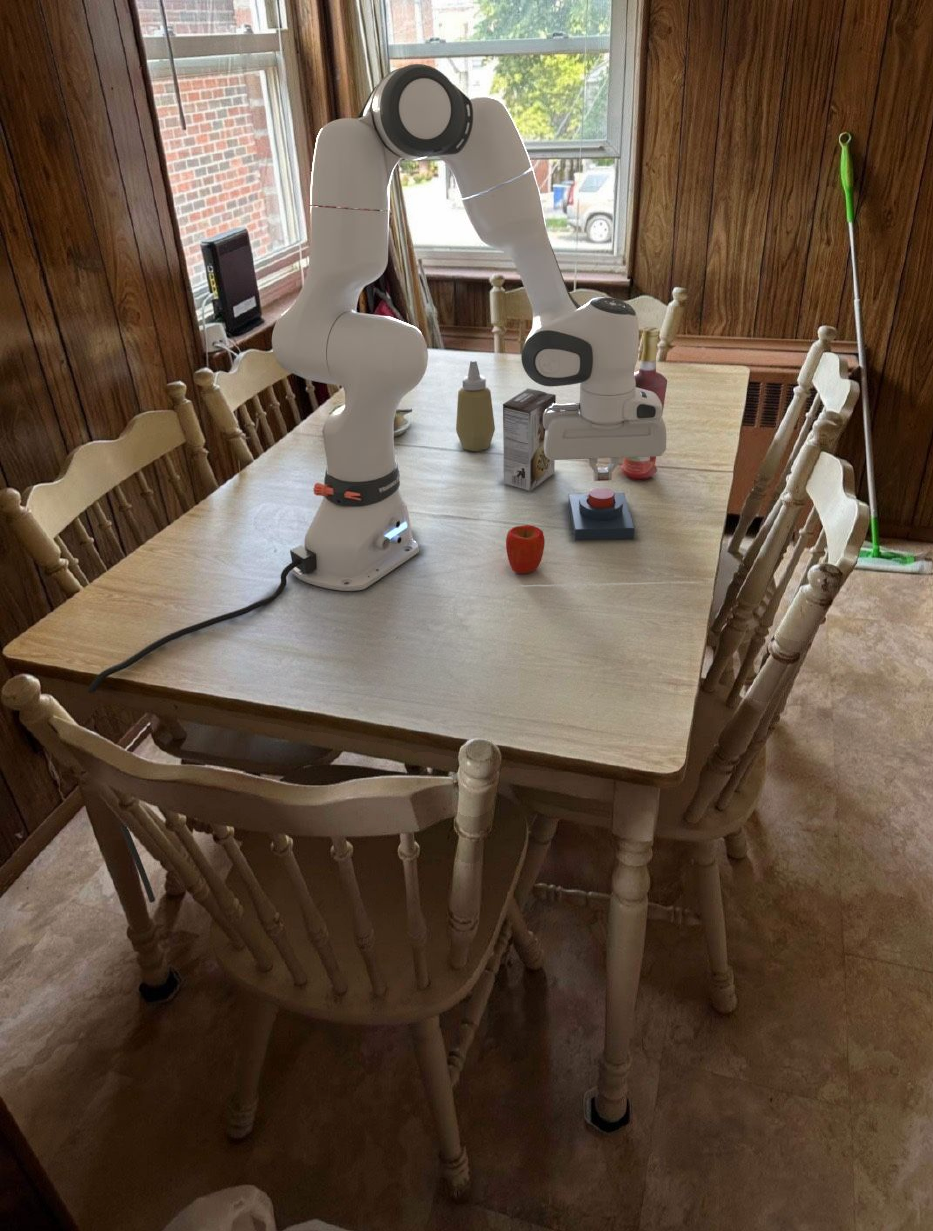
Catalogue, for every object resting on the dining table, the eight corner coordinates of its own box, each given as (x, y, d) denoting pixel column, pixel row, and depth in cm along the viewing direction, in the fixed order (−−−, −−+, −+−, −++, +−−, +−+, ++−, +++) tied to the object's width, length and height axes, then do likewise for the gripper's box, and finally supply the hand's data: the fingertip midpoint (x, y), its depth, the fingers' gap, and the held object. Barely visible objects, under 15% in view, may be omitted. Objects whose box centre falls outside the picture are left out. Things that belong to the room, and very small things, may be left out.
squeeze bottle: (496, 438, 186) (495, 353, 176) (493, 454, 179) (492, 367, 169) (458, 437, 187) (455, 353, 176) (454, 453, 180) (450, 367, 170)
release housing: (633, 539, 150) (635, 518, 147) (574, 540, 150) (575, 520, 148) (623, 503, 160) (624, 483, 158) (568, 504, 161) (569, 485, 158)
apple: (528, 584, 139) (528, 544, 135) (497, 572, 142) (497, 531, 138) (551, 568, 143) (552, 527, 139) (521, 556, 146) (521, 516, 142)
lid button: (615, 509, 151) (616, 498, 150) (589, 509, 151) (590, 499, 150) (612, 497, 155) (612, 486, 154) (587, 497, 155) (587, 487, 154)
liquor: (664, 474, 169) (680, 328, 153) (644, 487, 165) (657, 338, 149) (632, 464, 174) (644, 320, 157) (611, 476, 169) (621, 330, 153)
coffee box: (527, 466, 174) (527, 387, 165) (555, 473, 171) (557, 393, 162) (502, 483, 168) (501, 403, 159) (530, 491, 165) (531, 410, 156)
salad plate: (398, 405, 203) (397, 386, 200) (430, 432, 190) (429, 411, 187) (318, 422, 196) (315, 402, 193) (346, 451, 183) (343, 430, 180)
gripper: (544, 412, 141) (543, 490, 149) (672, 407, 140) (664, 485, 148) (541, 397, 146) (540, 473, 154) (665, 393, 145) (657, 469, 153)
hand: (602, 479), depth 151 cm, fingers closed
